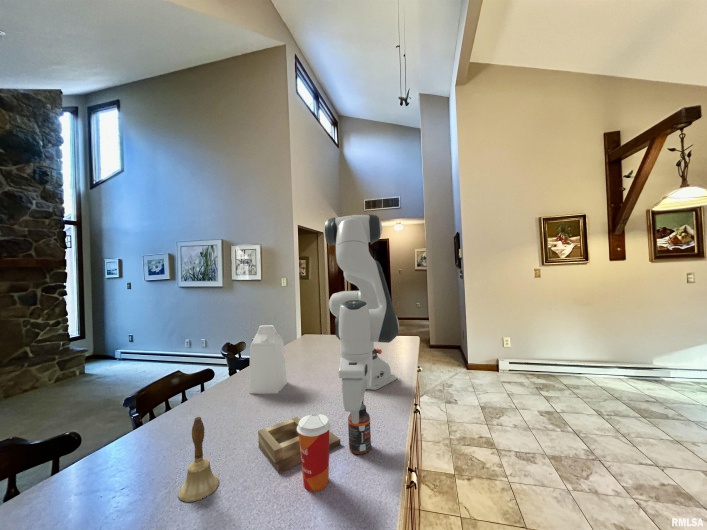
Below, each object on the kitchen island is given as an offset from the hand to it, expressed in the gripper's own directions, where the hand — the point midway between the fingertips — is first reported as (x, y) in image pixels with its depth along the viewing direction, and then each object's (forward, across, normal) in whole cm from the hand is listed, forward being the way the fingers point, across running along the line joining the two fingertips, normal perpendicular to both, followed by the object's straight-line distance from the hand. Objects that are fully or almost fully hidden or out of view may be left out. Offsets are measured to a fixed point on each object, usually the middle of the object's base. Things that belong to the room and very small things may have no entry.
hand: (358, 413), depth 80 cm
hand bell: (+10, +17, -35) cm, 40 cm away
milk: (+9, -40, -44) cm, 60 cm away
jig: (+10, -1, -17) cm, 19 cm away
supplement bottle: (+10, -1, 0) cm, 10 cm away
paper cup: (+10, +13, -8) cm, 18 cm away
